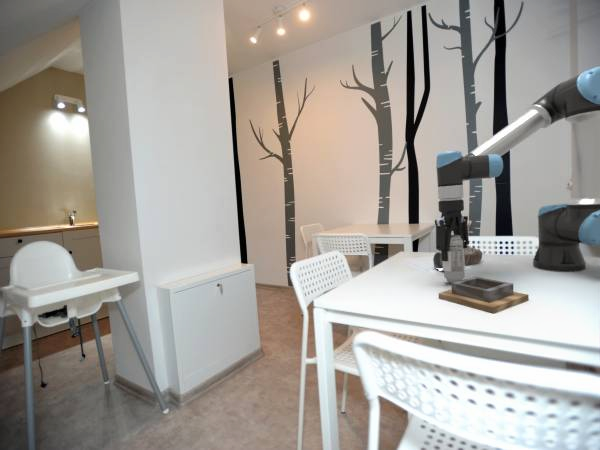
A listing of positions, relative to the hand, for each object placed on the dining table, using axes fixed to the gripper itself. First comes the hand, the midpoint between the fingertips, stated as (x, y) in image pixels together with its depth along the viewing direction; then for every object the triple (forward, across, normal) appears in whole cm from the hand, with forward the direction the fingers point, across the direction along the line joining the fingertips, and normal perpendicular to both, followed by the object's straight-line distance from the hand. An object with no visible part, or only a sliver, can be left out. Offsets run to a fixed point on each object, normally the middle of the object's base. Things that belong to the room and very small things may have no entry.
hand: (453, 268), depth 108 cm
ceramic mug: (+5, -14, -14) cm, 21 cm away
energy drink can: (+4, 0, 0) cm, 4 cm away
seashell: (+6, -30, -17) cm, 35 cm away
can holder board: (+5, +8, +15) cm, 18 cm away
